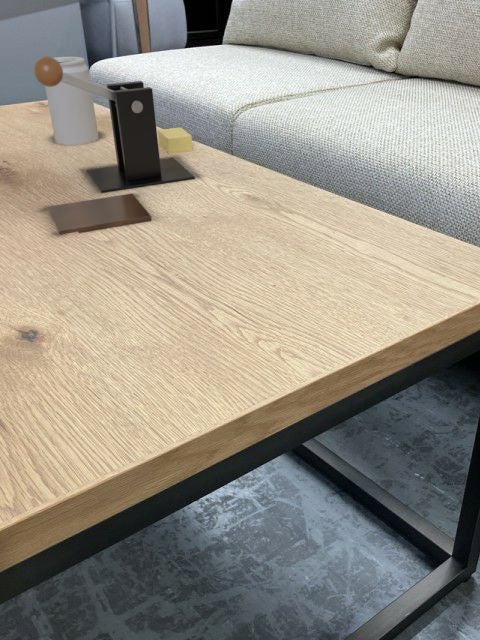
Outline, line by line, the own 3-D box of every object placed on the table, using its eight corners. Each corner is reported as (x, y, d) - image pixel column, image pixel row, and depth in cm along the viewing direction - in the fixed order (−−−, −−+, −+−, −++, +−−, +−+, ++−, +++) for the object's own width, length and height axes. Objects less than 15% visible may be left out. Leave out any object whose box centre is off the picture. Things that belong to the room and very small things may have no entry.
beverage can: (49, 144, 106) (32, 58, 99) (87, 136, 110) (74, 53, 103) (67, 153, 102) (52, 65, 95) (107, 145, 105) (94, 59, 99)
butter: (169, 160, 99) (167, 138, 97) (159, 150, 103) (157, 130, 101) (193, 156, 100) (191, 135, 99) (182, 147, 104) (180, 127, 102)
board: (61, 244, 75) (58, 230, 74) (49, 219, 81) (46, 206, 80) (152, 228, 78) (150, 215, 77) (133, 205, 84) (132, 193, 83)
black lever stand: (102, 200, 86) (86, 99, 79) (87, 178, 93) (71, 84, 86) (195, 185, 90) (188, 88, 83) (174, 166, 97) (165, 75, 90)
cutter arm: (32, 83, 79) (40, 54, 78) (28, 78, 81) (35, 49, 80) (141, 121, 86) (149, 95, 85) (134, 115, 88) (142, 90, 87)
